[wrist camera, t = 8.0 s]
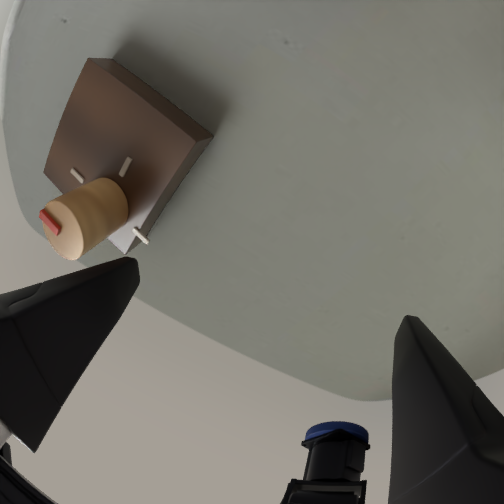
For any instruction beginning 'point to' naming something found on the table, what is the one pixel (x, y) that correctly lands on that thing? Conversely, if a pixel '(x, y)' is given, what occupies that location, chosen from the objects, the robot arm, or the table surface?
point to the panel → (124, 144)
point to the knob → (84, 217)
